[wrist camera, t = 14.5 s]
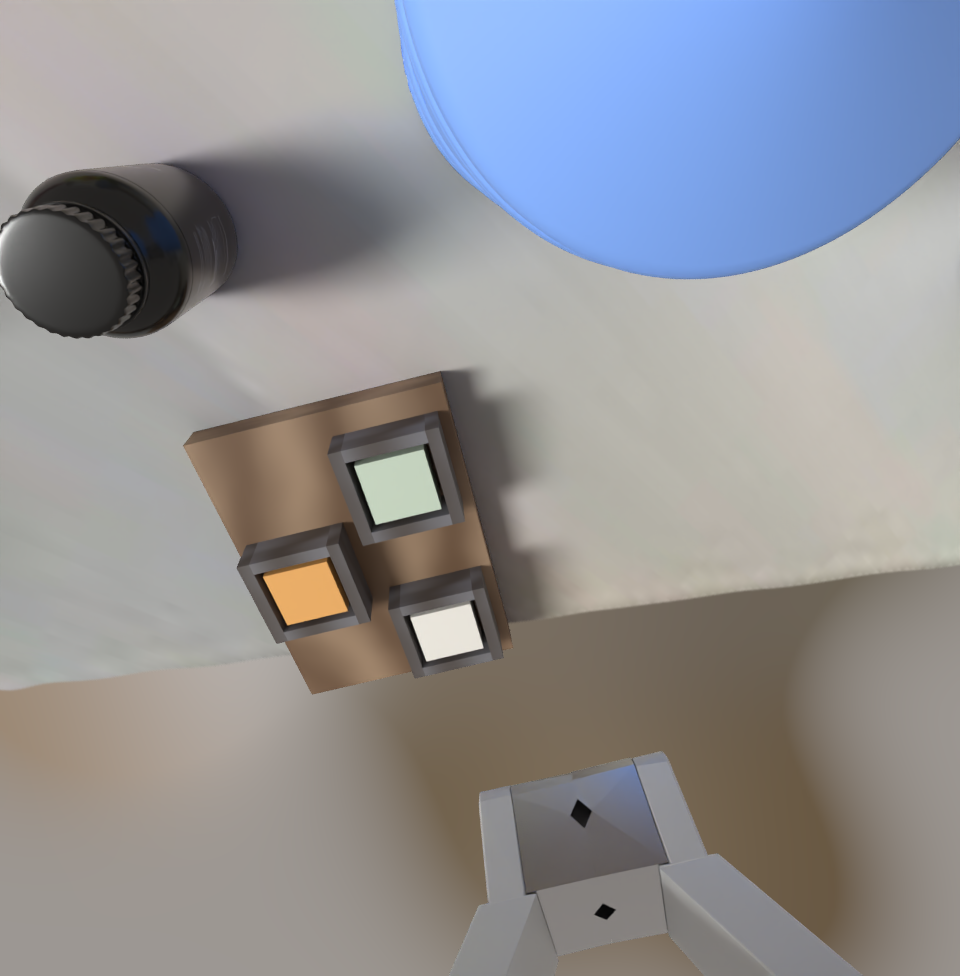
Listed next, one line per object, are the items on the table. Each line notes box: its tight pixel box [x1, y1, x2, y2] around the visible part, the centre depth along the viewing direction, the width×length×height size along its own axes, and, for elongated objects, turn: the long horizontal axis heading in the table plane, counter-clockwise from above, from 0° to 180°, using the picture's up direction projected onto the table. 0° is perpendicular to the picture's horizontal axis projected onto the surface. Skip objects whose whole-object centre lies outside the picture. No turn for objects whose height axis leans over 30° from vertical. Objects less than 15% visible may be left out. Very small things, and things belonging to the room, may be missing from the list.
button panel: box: [183, 371, 513, 694], centre depth 42 cm, size 16×22×4 cm
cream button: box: [410, 600, 484, 661], centre depth 44 cm, size 4×4×2 cm
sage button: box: [354, 444, 442, 525], centre depth 38 cm, size 4×4×2 cm
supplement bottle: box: [0, 164, 237, 339], centre depth 28 cm, size 7×7×12 cm
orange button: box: [263, 557, 349, 625], centre depth 41 cm, size 4×4×2 cm
